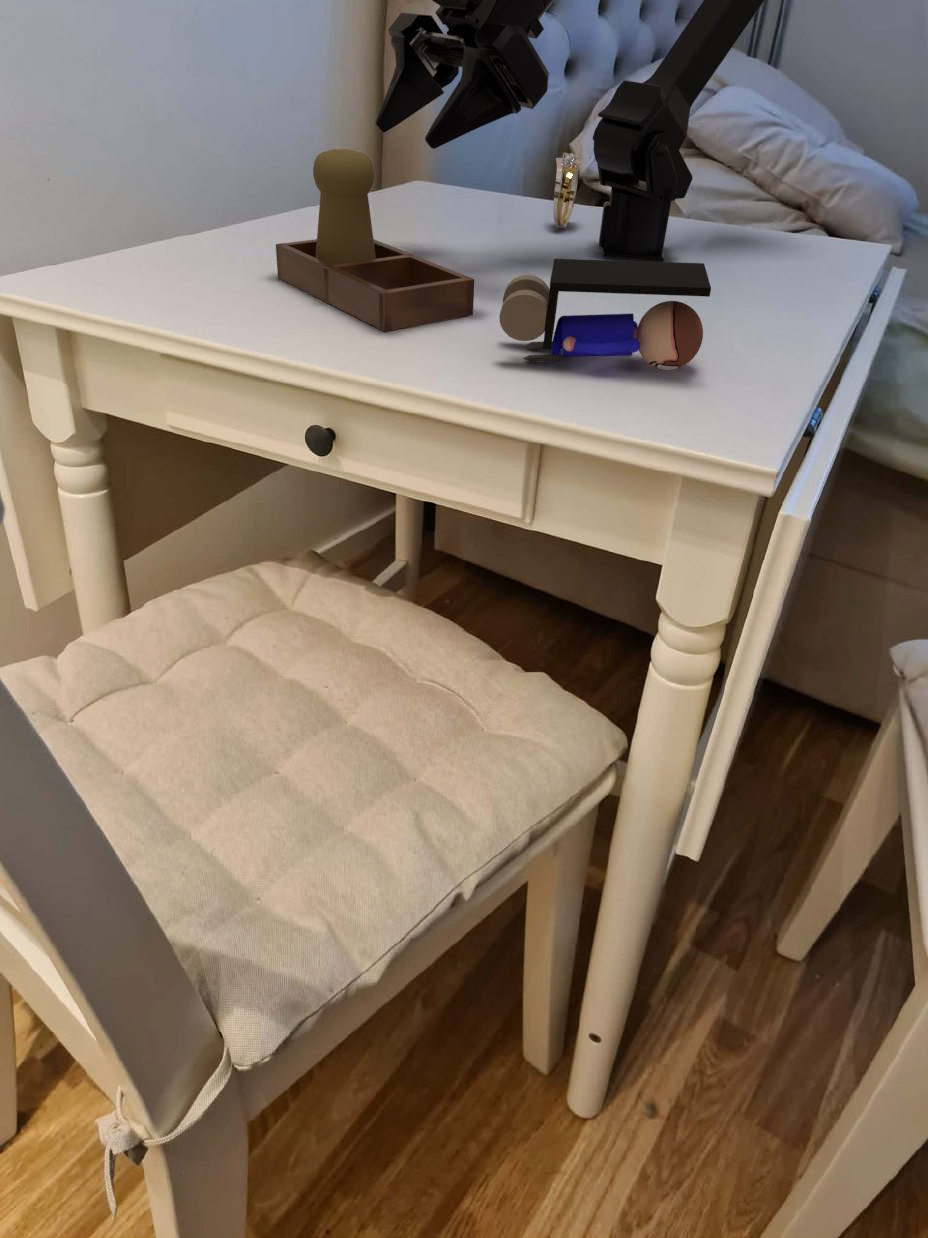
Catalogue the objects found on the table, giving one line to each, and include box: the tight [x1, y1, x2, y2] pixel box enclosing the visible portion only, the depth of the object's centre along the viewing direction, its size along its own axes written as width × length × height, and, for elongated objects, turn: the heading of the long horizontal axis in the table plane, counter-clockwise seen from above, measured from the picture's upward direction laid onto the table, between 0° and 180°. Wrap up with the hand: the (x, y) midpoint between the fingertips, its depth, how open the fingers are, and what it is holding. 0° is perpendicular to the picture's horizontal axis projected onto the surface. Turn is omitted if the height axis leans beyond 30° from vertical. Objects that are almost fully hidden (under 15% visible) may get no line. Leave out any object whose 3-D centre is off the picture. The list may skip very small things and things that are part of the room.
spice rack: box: [275, 238, 476, 332], centre depth 78 cm, size 9×18×3 cm, turn 38°
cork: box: [312, 148, 376, 265], centre depth 78 cm, size 6×6×11 cm
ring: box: [552, 151, 583, 229], centre depth 103 cm, size 7×3×8 cm, turn 157°
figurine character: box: [498, 258, 712, 371], centre depth 66 cm, size 7×8×15 cm
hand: (402, 135), depth 77 cm, fingers open, 9 cm apart
